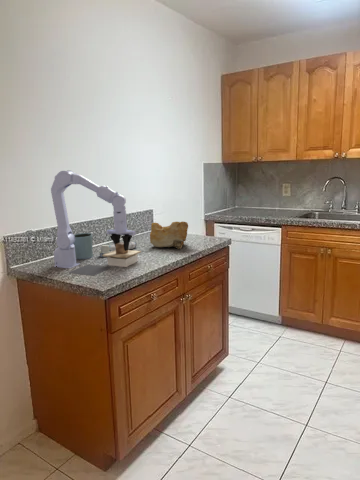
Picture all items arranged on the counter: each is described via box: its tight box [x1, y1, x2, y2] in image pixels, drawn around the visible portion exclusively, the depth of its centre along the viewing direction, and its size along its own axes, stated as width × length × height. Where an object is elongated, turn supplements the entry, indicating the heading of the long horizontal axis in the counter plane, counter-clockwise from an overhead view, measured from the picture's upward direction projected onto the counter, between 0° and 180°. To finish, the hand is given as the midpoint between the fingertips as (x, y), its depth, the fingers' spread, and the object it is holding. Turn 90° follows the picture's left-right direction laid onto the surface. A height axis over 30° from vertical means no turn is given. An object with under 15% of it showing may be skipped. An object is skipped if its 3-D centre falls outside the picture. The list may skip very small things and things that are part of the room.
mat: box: [68, 264, 113, 277], centre depth 162 cm, size 14×14×1 cm
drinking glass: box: [73, 232, 94, 260], centre depth 184 cm, size 10×10×12 cm
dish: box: [107, 254, 139, 268], centre depth 171 cm, size 10×10×4 cm
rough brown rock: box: [149, 221, 189, 250], centre depth 204 cm, size 23×17×15 cm
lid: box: [102, 241, 142, 258], centre depth 170 cm, size 13×13×5 cm
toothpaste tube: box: [98, 241, 137, 258], centre depth 194 cm, size 5×7×25 cm
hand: (122, 249), depth 170 cm, fingers closed on lid, 4 cm apart
